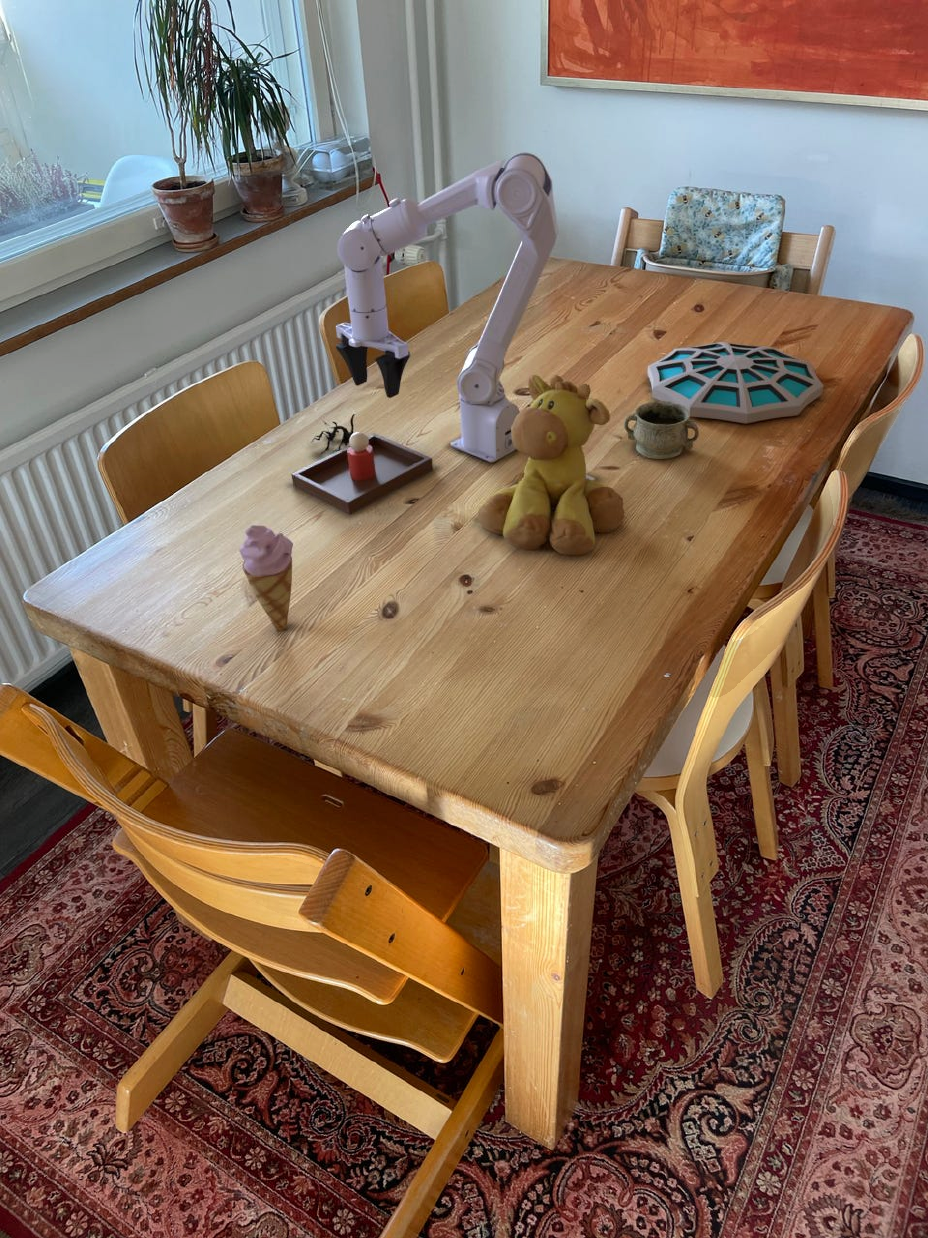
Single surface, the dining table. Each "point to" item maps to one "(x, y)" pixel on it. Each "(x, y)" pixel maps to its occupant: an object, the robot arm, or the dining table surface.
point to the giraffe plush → (554, 474)
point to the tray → (351, 495)
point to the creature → (332, 435)
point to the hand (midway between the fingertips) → (376, 389)
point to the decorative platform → (735, 382)
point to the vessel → (661, 429)
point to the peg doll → (360, 457)
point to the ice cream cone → (269, 571)
